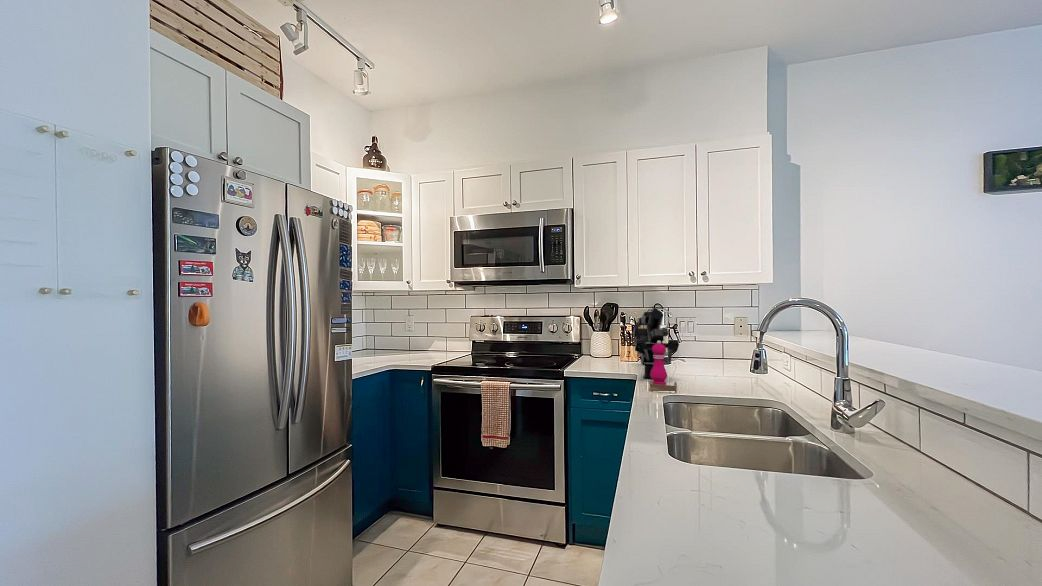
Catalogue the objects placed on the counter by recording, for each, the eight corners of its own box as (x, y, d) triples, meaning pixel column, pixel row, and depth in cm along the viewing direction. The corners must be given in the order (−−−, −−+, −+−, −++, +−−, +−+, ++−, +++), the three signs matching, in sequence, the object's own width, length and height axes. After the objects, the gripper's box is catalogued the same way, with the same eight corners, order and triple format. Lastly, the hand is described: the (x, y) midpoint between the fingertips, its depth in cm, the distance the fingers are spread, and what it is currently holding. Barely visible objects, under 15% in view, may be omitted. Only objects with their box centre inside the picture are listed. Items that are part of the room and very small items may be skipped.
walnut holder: (651, 386, 191) (651, 380, 191) (676, 388, 187) (676, 381, 187) (649, 391, 182) (649, 384, 182) (675, 393, 178) (675, 386, 178)
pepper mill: (647, 385, 194) (648, 340, 194) (653, 382, 199) (654, 339, 199) (663, 387, 189) (664, 341, 189) (669, 385, 195) (669, 340, 195)
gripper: (635, 321, 199) (640, 349, 188) (678, 322, 197) (685, 350, 186) (632, 337, 207) (636, 364, 196) (673, 337, 205) (679, 365, 194)
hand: (659, 360), depth 193 cm, fingers open, 9 cm apart
